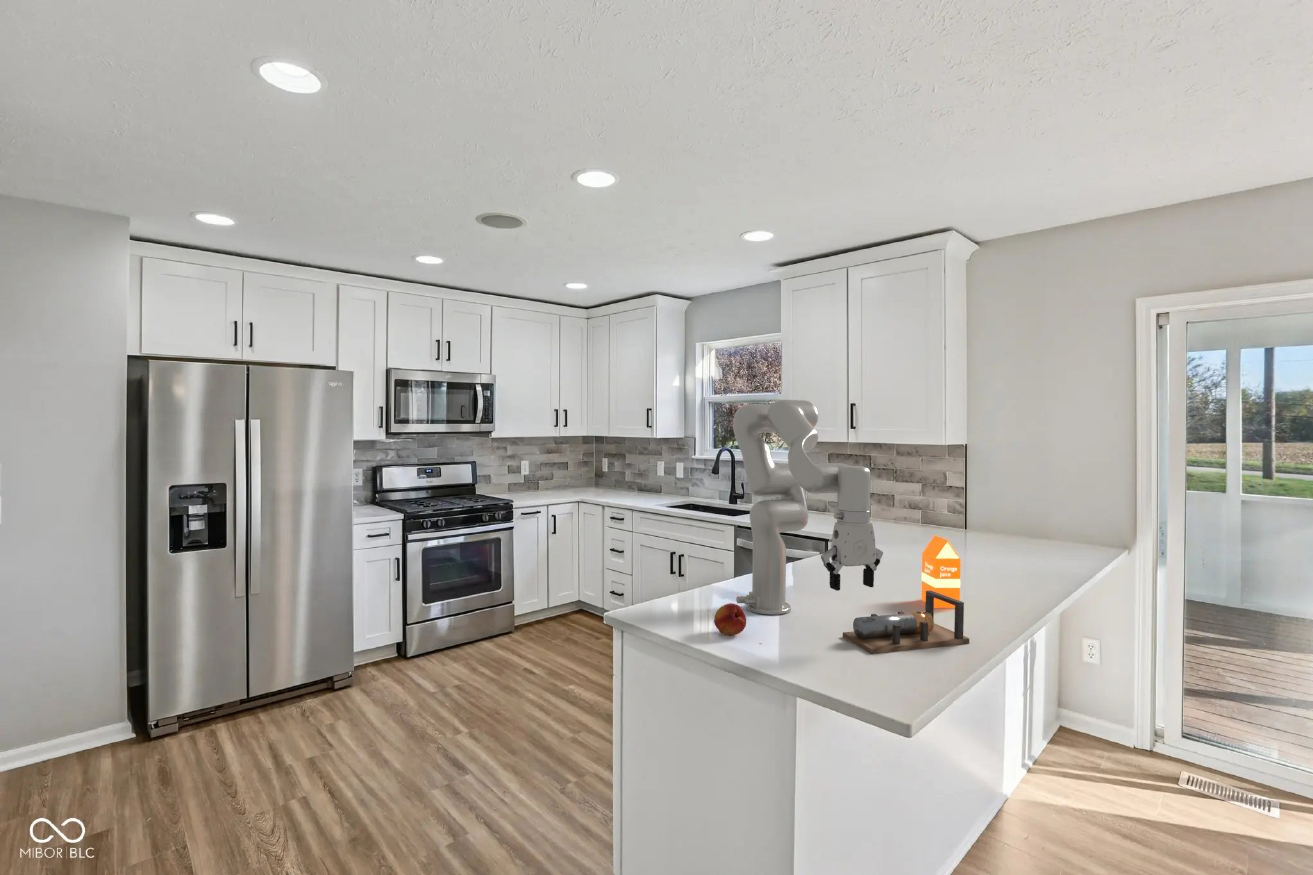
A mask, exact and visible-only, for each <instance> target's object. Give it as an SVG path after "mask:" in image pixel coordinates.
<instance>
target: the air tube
mask: <svg viewBox="0 0 1313 875" xmlns="http://www.w3.org/2000/svg"><path fill="white" fill-rule="evenodd" d="M921 622H927V623H928V632H931V631H932V630H933V628H934V624H935V621H934V620H933V618H932V616H931V614H930V613H928V612H925V611H916V612H915V611H914V612H907V613H906V612H904V613H903V614H898V613H894V614H882V615H881V614H880V615H878V616H871V615H870V616H859V617H858V616H857V617H855V618H854V619H853V622H852V628H853V631H854V633H855V635H856V636H857V637H858V638H859V639H863V638H873V637H883V636H892V635H893V624H898V625H900V635H903V634H913V633H920V625H921Z"/></svg>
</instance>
